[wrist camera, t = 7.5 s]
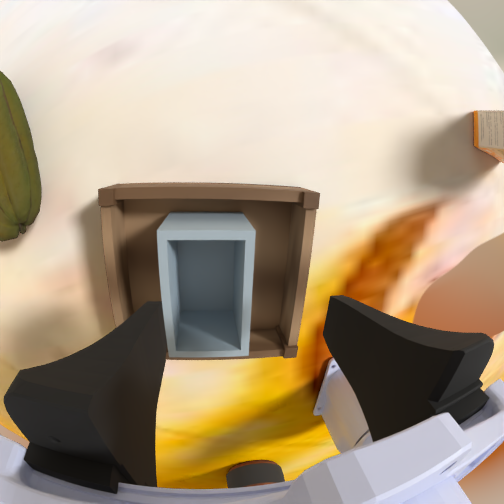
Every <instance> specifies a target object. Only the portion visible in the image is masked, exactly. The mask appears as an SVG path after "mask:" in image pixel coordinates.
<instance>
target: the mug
mask: <svg viewBox="0 0 504 504" xmlns="http://www.w3.org/2000/svg"><path fill="white" fill-rule="evenodd" d="M226 477H227V484H228V488H240V487H251V486H260V485H267V484H274V483H280V482H285V480H284V475H283V472H282V469H281V467H280V466H279V465H277V464H276V463H275V462H273V461H269V460H254V461H248V462H244V463H240V464H238V465H235V466H234V467H232V468H231V469H230V470H229V472H228V474H227V476H226Z"/></svg>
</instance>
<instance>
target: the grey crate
mask: <svg viewBox="0 0 504 504" xmlns="http://www.w3.org/2000/svg"><path fill="white" fill-rule="evenodd" d="M255 235H256V230H255V229H254V228H253V226H252V225H251V223H250V222H249V221H248V219H247V218H246V217H245V215H244V214H243V212H206V211H185V212H170V213H169V214H168V216H167V217H166V219H165V220H164V221H163V223H162V224H161V226H160V227H159V228H158V230H157V244H158V261H159V275H160V287H161V298H162V307H163V315H164V324H165V331H166V339H167V347H168V353H169V357H235V356H249V340H250V323H251V306H252V288H253V271H254V253H255Z"/></svg>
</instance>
